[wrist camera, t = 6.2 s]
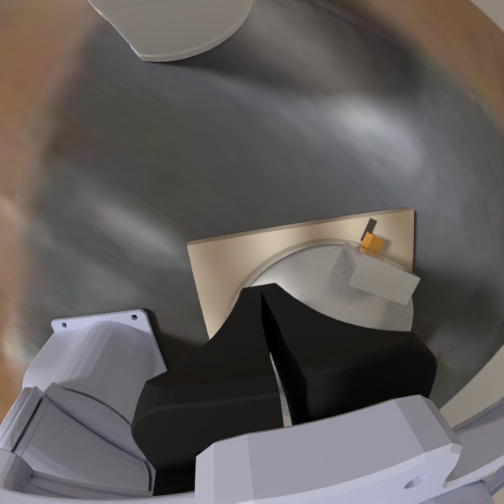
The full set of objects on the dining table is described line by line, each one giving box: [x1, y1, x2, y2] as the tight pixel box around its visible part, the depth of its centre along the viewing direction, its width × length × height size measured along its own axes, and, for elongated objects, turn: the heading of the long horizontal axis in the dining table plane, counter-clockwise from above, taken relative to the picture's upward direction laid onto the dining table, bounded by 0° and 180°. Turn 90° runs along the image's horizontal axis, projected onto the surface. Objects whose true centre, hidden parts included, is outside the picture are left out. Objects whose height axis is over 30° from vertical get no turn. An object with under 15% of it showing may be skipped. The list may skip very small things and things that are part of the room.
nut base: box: [187, 207, 414, 339], centre depth 23 cm, size 17×17×1 cm
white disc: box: [224, 232, 420, 427], centre depth 21 cm, size 16×15×4 cm
